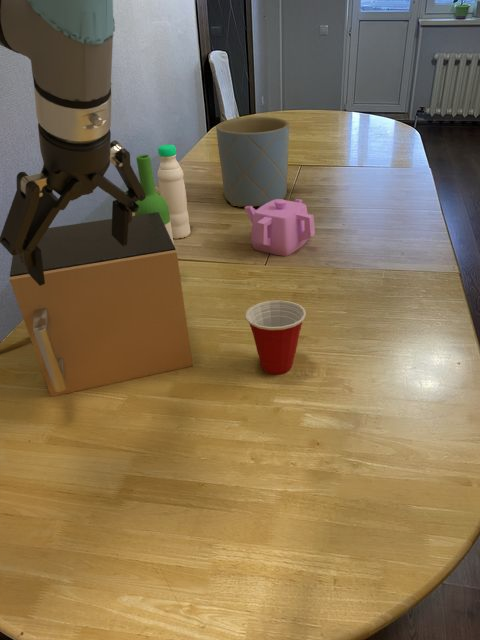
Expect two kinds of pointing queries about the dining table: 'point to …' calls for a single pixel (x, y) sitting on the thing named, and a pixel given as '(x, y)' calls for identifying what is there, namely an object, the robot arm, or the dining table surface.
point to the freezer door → (106, 321)
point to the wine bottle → (151, 194)
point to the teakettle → (280, 226)
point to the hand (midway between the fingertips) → (80, 258)
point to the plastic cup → (276, 333)
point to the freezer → (98, 243)
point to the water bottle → (173, 191)
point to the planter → (253, 159)
